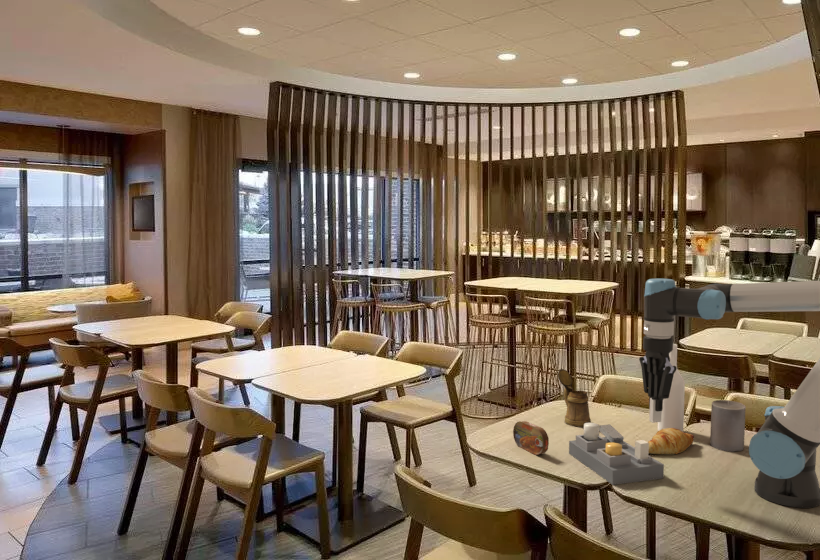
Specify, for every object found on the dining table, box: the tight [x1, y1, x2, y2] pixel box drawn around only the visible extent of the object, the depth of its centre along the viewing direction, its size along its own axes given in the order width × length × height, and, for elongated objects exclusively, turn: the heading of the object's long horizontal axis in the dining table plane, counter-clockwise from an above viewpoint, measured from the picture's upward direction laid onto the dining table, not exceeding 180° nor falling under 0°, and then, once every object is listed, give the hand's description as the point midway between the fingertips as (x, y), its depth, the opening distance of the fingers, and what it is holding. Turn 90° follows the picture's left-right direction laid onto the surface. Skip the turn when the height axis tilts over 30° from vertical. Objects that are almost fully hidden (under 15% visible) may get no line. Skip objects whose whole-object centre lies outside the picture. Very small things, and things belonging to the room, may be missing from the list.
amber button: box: [605, 442, 622, 456], centre depth 178 cm, size 4×4×4 cm
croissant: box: [647, 428, 695, 455], centre depth 198 cm, size 21×10×8 cm
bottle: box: [657, 343, 686, 432], centre depth 213 cm, size 8×8×30 cm
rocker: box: [599, 424, 625, 443], centre depth 193 cm, size 8×4×2 cm, turn 15°
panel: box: [568, 434, 665, 486], centre depth 185 cm, size 24×16×7 cm, turn 15°
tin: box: [512, 420, 550, 456], centre depth 198 cm, size 15×3×8 cm, turn 27°
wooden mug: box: [557, 368, 592, 428], centre depth 225 cm, size 9×14×18 cm, turn 30°
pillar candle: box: [709, 399, 746, 452], centre depth 199 cm, size 10×10×15 cm
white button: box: [583, 422, 600, 441], centre depth 189 cm, size 4×4×4 cm
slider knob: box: [634, 439, 650, 460], centre depth 178 cm, size 3×3×5 cm
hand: (655, 421), depth 172 cm, fingers closed
